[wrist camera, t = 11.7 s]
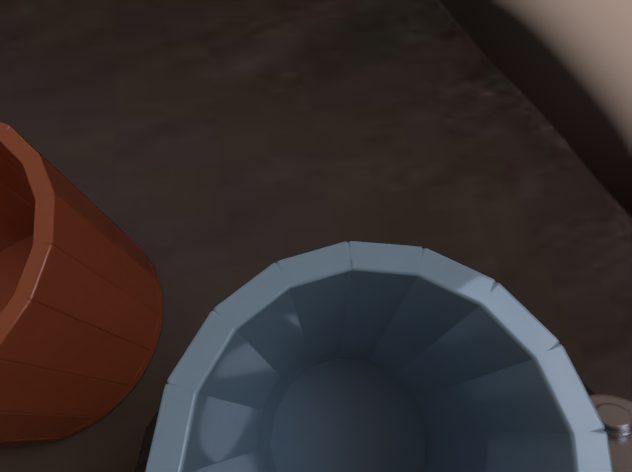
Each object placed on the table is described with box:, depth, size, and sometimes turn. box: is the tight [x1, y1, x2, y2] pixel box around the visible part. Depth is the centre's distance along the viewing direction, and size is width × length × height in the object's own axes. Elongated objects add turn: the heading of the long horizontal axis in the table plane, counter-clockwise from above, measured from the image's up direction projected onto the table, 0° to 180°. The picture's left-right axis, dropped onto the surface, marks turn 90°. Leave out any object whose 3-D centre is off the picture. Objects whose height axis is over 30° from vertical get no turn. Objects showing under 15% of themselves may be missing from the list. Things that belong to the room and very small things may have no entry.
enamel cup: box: [145, 241, 613, 472], centre depth 10 cm, size 6×6×10 cm
